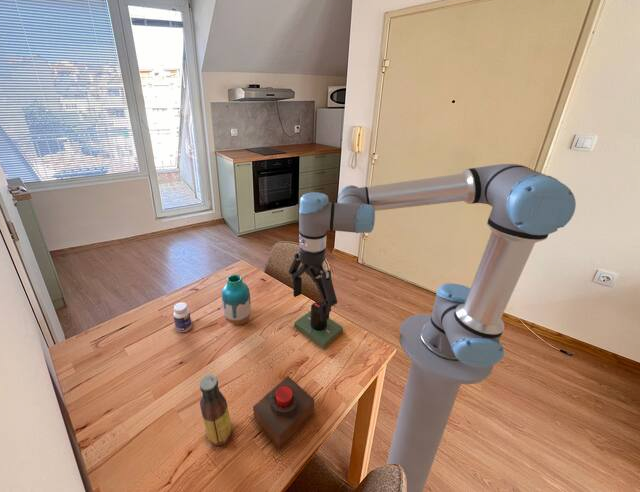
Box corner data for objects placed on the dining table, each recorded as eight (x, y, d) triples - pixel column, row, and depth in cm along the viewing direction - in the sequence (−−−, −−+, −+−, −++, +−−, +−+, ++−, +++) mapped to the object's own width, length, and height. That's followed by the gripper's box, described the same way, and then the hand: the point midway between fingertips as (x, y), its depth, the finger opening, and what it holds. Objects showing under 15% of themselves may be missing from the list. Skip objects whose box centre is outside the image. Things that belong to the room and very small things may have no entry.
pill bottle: (189, 333, 107) (185, 311, 103) (173, 333, 108) (169, 311, 103) (193, 321, 113) (190, 301, 109) (179, 321, 113) (175, 301, 109)
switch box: (287, 388, 87) (287, 370, 84) (313, 412, 80) (314, 394, 77) (253, 419, 79) (252, 401, 76) (279, 449, 72) (279, 430, 69)
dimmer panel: (342, 332, 107) (343, 327, 106) (323, 349, 100) (323, 343, 99) (313, 313, 116) (313, 308, 115) (294, 327, 109) (294, 321, 108)
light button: (284, 388, 80) (284, 382, 79) (295, 399, 77) (295, 393, 76) (272, 398, 77) (272, 393, 76) (283, 410, 74) (283, 405, 73)
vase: (256, 313, 117) (253, 273, 109) (244, 332, 107) (241, 289, 100) (232, 307, 120) (228, 268, 112) (219, 325, 111) (213, 283, 103)
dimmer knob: (330, 324, 107) (331, 306, 104) (319, 333, 103) (320, 315, 100) (317, 316, 111) (318, 298, 108) (306, 324, 107) (307, 306, 104)
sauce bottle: (232, 420, 79) (225, 368, 71) (231, 445, 73) (224, 392, 65) (207, 423, 78) (198, 371, 70) (204, 449, 72) (194, 395, 64)
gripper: (277, 234, 90) (278, 290, 99) (332, 271, 71) (328, 337, 80) (296, 228, 94) (296, 282, 103) (354, 262, 75) (347, 325, 84)
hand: (310, 306), depth 91 cm, fingers open, 13 cm apart
